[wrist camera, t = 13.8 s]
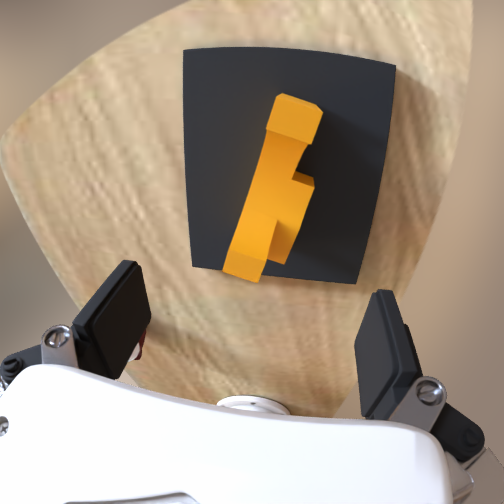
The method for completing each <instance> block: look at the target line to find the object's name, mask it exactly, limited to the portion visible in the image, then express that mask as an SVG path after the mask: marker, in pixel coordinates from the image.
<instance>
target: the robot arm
mask: <svg viewBox="0 0 504 504" xmlns="http://www.w3.org/2000/svg"><path fill="white" fill-rule="evenodd" d="M150 319H151V311H150V307H149V302H148V298H147V293H146V288H145V284H144V279H143V274H142V269H141V266H140V265H138V263H137V262H136V261H130V260H123V261H122V262H121V263H120V264H119V265H118V266H117V267H116V269H115V270H114V271H113V272H112V273H111V274H110V276H109V277H108V278H107V279H106V280H105V282H104V283H103V284H102V285H101V286H100V288H99V289H98V290H97V291H96V293H95V294H94V295H93V296H92V298H91V299H90V300H89V301H88V303H87V304H86V305H85V306H84V308H83V309H82V310H81V311H80V313H79V314H78V315H77V317H76V318H75V319H74V321H73V322H72V323H73V325H72V326H71V328H70V327H68V326H66V325H56V326H53V327H51V328H49V329H48V330H47V331H46V332H45V333H44V334H43V336H42V339H41V344H40V345H37V346H34V347H31V348H28V349H25V350H23V351H20V352H17V353H14V354H11V355H9V356H7V357H6V358H5V359H4V360H3V362H2V363H1V366H0V504H502V502H503V501H504V467H503V466H502V465H501V463H500V462H499V461H498V459H497V458H496V456H495V455H494V454H493V452H492V451H491V450H490V448H489V447H488V448H487V449H486V448H485V447H484V441H485V438H484V434H483V431H482V430H481V428H480V427H479V426H478V425H477V424H475V423H474V422H472V421H471V420H470V419H468V418H467V417H466V416H464V415H463V414H461V413H460V412H459V411H457V410H456V409H454V408H453V407H451V406H450V405H449V404H448V403H446V399H447V392H446V389H445V387H444V386H443V384H442V383H441V382H440V381H439V380H437V379H435V378H433V377H429V376H423V374H422V370H421V367H420V363H419V359H418V356H417V353H416V349H415V346H414V343H413V340H412V336H411V333H410V330H409V327H408V325H406V324H404V323H403V320H402V317H401V314H400V311H399V308H398V305H397V302H396V299H395V296H394V294H393V291H392V290H382V289H378V290H377V292H376V293H372V295H371V298H370V301H369V304H368V307H367V310H366V312H365V315H364V318H363V321H362V323H361V326H360V329H359V331H358V334H357V337H356V339H355V344H354V349H355V356H356V365H357V374H358V383H359V393H360V404H361V414H362V416H363V417H365V418H366V419H338V418H320V417H305V416H292V415H290V412H289V411H288V410H287V409H286V408H285V407H284V406H282V405H281V404H279V403H277V402H275V401H272V400H269V399H265V398H261V397H255V396H231V397H228V398H225V399H222V400H221V401H219V402H218V404H217V405H212V404H207V403H202V402H197V401H192V400H188V399H183V398H179V397H174V396H170V395H166V394H162V393H158V392H154V391H150V390H147V389H143V388H139V387H136V386H132V385H129V384H126V383H122V382H119V381H115V379H118V378H119V377H120V375H121V373H122V372H123V370H124V368H125V366H126V364H127V362H128V360H129V358H130V357H131V355H132V353H133V351H134V349H135V347H136V345H137V344H138V342H139V340H140V338H141V336H142V334H143V333H144V331H145V329H146V327H147V325H148V324H149V322H150Z"/></svg>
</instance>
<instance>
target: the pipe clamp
mask: <svg viewBox="0 0 504 504" xmlns="http://www.w3.org/2000/svg"><path fill="white" fill-rule="evenodd" d="M322 114H323V112H322V111H321V110H320V109H319V107H318V106H317V105H315V104H313V103H310V102H307V101H304V100H301V99H299V98H296V97H293V96H290V95H286V94H283V93H282V94H280V95H278V96H276V99H275V102H274V105H273V108H272V111H271V114H270V117H269V120H268V124H267V127H266V129H267V132H266V137H265V141H264V144H263V148H262V151H261V155H260V158H259V161H258V165H257V168H256V171H255V174H254V177H253V180H252V183H251V187H250V190H249V193H248V196H247V199H246V202H245V205H244V208H243V211H242V214H241V216H240V219H239V222H238V225H237V228H236V231H235V233H234V236H233V239H232V242H231V244H230V247H229V250H228V253H227V256H226V260H225V263H224V267H223V270H222V272H225V273H228V274H231V275H234V276H237V277H240V278H243V279H246V280H250V281H253V282H256V283H258V281H259V279H260V276H261V273H262V271H263V268H264V266H265V263H266V260H267V259H269V260H272V261H275V262H278V263H281V264H285V262H286V259H287V257H288V255H289V252H290V250H291V248H292V245H293V243H294V241H295V239H296V236H297V234H298V232H299V229H300V227H301V223H302V220H303V217H304V214H305V211H306V209H307V206H308V203H309V200H310V198H311V195H312V193H313V190H314V188H315V187H314V180H313V177H310V176H308V175H305V174H302V173H299V172H297V171H295V169H296V167H297V165H298V162H299V160H300V158H301V156H302V154H303V152H304V150H305V148H306V147H307V145H308V144H312V141H313V138H314V136H315V133H316V130H317V128H318V125H319V122H320V120H321V117H322Z"/></svg>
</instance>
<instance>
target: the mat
mask: <svg viewBox="0 0 504 504" xmlns="http://www.w3.org/2000/svg"><path fill="white" fill-rule="evenodd" d="M395 72H396V65H392V64H388V63H384V62H379V61H375V60H370V59H365V58H360V57H354V56H348V55H342V54H335V53H328V52H320V51H311V50H301V49H288V48H270V47H219V48H201V49H188V50H183V123H184V154H185V176H186V193H187V209H188V222H189V235H190V247H191V258H192V267H198V268H207V269H215V270H223V267H224V263H225V260H226V256H227V253H228V250H229V247H230V244H231V242H232V239H233V236H234V233H235V231H236V228H237V225H238V222H239V219H240V216H241V214H242V211H243V208H244V205H245V202H246V199H247V196H248V193H249V190H250V187H251V183H252V180H253V177H254V174H255V171H256V168H257V165H258V161H259V158H260V155H261V151H262V148H263V144H264V141H265V137H266V132H267V129H266V127H267V124H268V120H269V117H270V114H271V111H272V108H273V105H274V102H275V99H276V96H278V95H280V94H282V93H283V94H286V95H290V96H293V97H296V98H299V99H301V100H304V101H307V102H310V103H313V104H315V105H317V106H318V107H319V109H320V110H321V111H322V112H323V114H322V117H321V120H320V122H319V125H318V128H317V130H316V133H315V136H314V138H313V141H312V144H308V145H307V147H306V148H305V150H304V152H303V154H302V156H301V158H300V160H299V162H298V165H297V167H296V169H295V171H297V172H299V173H302V174H305V175H308V176H310V177H313V180H314V187H315V188H314V190H313V193H312V195H311V198H310V200H309V203H308V206H307V209H306V211H305V214H304V217H303V220H302V223H301V227H300V229H299V232H298V234H297V236H296V239H295V241H294V243H293V245H292V248H291V250H290V252H289V255H288V257H287V259H286V262H285V264H281V263H278V262H275V261H272V260H269V259H267V260H266V263H265V266H264V268H263V271H262V273H261V275H267V276H276V277H286V278H295V279H305V280H315V281H325V282H335V283H345V284H356V282H357V278H358V275H359V271H360V268H361V264H362V260H363V257H364V253H365V249H366V245H367V241H368V237H369V233H370V229H371V225H372V220H373V216H374V211H375V207H376V202H377V197H378V193H379V188H380V182H381V177H382V172H383V166H384V160H385V154H386V148H387V142H388V135H389V128H390V121H391V113H392V104H393V95H394V84H395Z"/></svg>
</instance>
